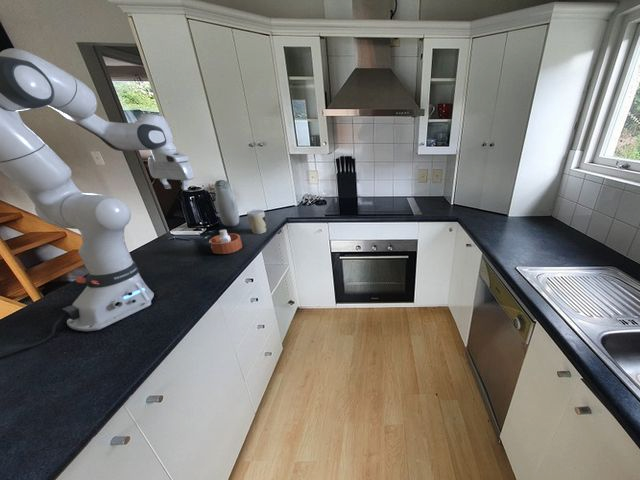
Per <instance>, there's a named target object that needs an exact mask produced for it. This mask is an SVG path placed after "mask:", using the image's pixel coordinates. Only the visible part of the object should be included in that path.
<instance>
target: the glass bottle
mask: <svg viewBox="0 0 640 480" xmlns="http://www.w3.org/2000/svg"><path fill="white" fill-rule="evenodd" d="M214 189H215V204H216V209H217V212H218V216H219V219H220V221H221V223H222V224H223V226H225V227H228V228H233V227H236V226H238V225H239V223H240V214H239V209H238V204H237V200H236V198H235V195H234V193H233V192H232V189H231V186H230V183H229V182H228V181H227V180H225V179H219V180H216V181H215V183H214Z"/></svg>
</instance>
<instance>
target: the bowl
mask: <svg viewBox="0 0 640 480" xmlns="http://www.w3.org/2000/svg"><path fill="white" fill-rule="evenodd" d="M227 235H229V236H230V239H231V242H226V243H220V239H219V238H220V237H221V235H220V234H218V235H215V236H212V237H211V238H210V239H209V240H208V242H209V246H210V249H211V252H212V253H213V254H217V255H227V254H228V255H229V254H232V253H236V252H238V251H239V250H241V249H242V248H243V241H242V238H241V235H240V234H238V233H232V232H231V233H229V232H228V233H227Z"/></svg>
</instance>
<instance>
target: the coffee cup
mask: <svg viewBox="0 0 640 480" xmlns="http://www.w3.org/2000/svg"><path fill="white" fill-rule="evenodd" d="M246 216H247V220H248V222H249V226H250V229H251V232H252V234H255V235H260V234H261V235H262V234H264V233H266V232H267V222H266V215H265V211H264V210H262V209H253V210H249V211H247V212H246Z"/></svg>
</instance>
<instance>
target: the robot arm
mask: <svg viewBox="0 0 640 480" xmlns="http://www.w3.org/2000/svg"><path fill="white" fill-rule="evenodd" d="M47 106H48V107H50V108H52V109H53V110H55V111H57V112H58V113H59V114H60V115H61V116H62V117H64V118H65V119H67V120H69V121H70V122H72V123H74V124H76V125H77V126H78V127H81V128H82V129H84V130H86V131H87V132H89V133H91V134H93V135H94V136H95V137H98V139H100V140H101V141H102V142H103V143H105V145H107V147H109V148H110V149H113V150H115V151H118V152H119V151H120V152H123V151H125V152H126V151H150V154H151V155H149V156H148V158H147V165H148V171H149V174H150V176H151V177H152V178H153V179H159V182H160V183H162V185H163V186H164V189H165V190H171V189H172V186H171V184H170V183H169V182H168V180H175V181H180V183H181V185H180V188H181V190H182V191H188V190H189V188H188V185H189V181H191V180H194V178H195V174H194V171H193V168H192V164H191V163H190V162H189V161H190V158H189V156H188V155H187V154H184V153H182V152H180V151H178V150H177V147H176V145H175V143H174V136H173V133H172V131H171V128H170V126H169V123H168V121H167V119H166V117H164V116H163V115H161V114H158V113H152V112H143V113H141V114H140V117H139V119H138V120H135V121H134V122H117V121H116V122H115V121H107V120H105V119H104V118H102V117H100V116H99V115H97V114H96V111H97V108H98V100H97V96H96V95H95V93H94V91H93V90H92V89H91V88H90V87H89V86H88V85H87V84H86V83H84V82H83V81H81V80H80V79H78V78H77V77H75V76H73V75H72V74H71V73H69V72H67V71H65V70H64V69H63V68H61V67H58V65H55V64H54V63H52V62H50V61H48V60H46V59H44V58H42V57H41V56H38V55H36V54H33V53H31V52H30V51H27V50H24V49H21V48H15V47H14V48H13V47H11V48H10V47H9V48H7V49H3V50H2V51H0V172H1V174H3V175H4V176H6V177H7V178H8V179H9V180H10V181H12V182H13V183H14V184H15V185H16V186H18V188H19V189H20V190H22V191H23V192H24V194H26V196H27V197H28V198H29V199H30V200H31V203H32V204H33V205H34V211H35V213H36V215H37V217H38V218H39V219H40V220H41V221H43V222H44V223H45V222H46V223H47V224H50V225H52V226H56V227H59V228H63V229H73V230H78V231H79V233H80V236H81V241H82V244H81V245H80V247H79V248H78V251H77V252H78V255H79V257H80V259H81V261H82V262H83V265H85V268H86V270H87V272H88V273H87V275H86V276H77V277H76V278H75V282H76V283H77V284H78V283H79V284H86V287H85V288H84V290H83V291H82V292H81V293H80V294H79V295H78V297H77V298H76V299H75V300H74V302H72V304H70V305H68V306H65V307H63V308H61V310H62V312H63V313H64V314H62V315H61V316H60V317H59V318H57V319H56V320H55V321H54V322H53V323H52V325H51V326H50V332H49V334H48V335H47V336H46V337H45V338H43V339H41V340H38V341H36V342H33V343H30V344H27V345H23V346H20V347H18V348H15V349H12V350H10V351H7V352H4V353H1V354H0V359H2V358H6V357H8V356H10V355H13V354H17V353H18V352H21V351H25V350H27V349H31V348H34V347H37V346H39V345H41V344H42V343H45V342H47V341H49V340H51V339H52V338H53V337H54V336H55V334H56V330H57V329H56V328H57V326H58V325H59V324H60V323H61V322H62V321H63V320H65V319H66V318H68V319H67V320H66V324H67V326H68V327H69V328H70V329H72V330H75V331H78V332H79V331H80V332H94V331H95V332H96V331H100V330H102V329H104V328H107V327H108V326H110V325H112V324H114V323H117V322H119V321H120V320H123V319H125V318H127V317H129V316H130V315H133V314H135V313H138V312H140V311H141V310H143V309H146V308H148V307H150V306H151V305H152V300H153V298H154V295H155V293H154V292H153V291H152V290H151V289H150V288H149V286H148V285H147V283H146V282H145V280H144V279H143V277H142V276H141V272H140V269H139V267H138V265H137V263H136V262H135V260H133V258H132V256H131V254H130V251H129V249H128V246H127V244H126V240H125V228H126V226H127V225H129V223H130V221H131V217H132V212H131V209H130V208H129V206H128V204H126V203H125V202H124V201H123V200H121V199H119V198H115V197H113V196H110V195H107V194H101V193H99V194H98V193H85V192H83V191H82V190H81V189H79V188H78V187H77V186H76V184H75V183H74V181H73V179H72V173H73V172H72V169H71V168H70V166H69V165H68V164H66V162H65V161H64V160H63V159H62V158H61V157H60V156H58V154H57V153H56V152H55V151H53V150H52V148H51V147H49V145H48V144H46V143H45V142H44V141H43V140H42V139H41V138H40V137H39V136H38V135H37V134H36V133H35V132H34V131H33V130H31V129H30V128H29V127H28V126H27V125H26V124H25V123H24V122H23V119H22V117H21V116H20V113H19V112H22V111H27V110H38V109H42V108H46V107H47Z"/></svg>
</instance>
